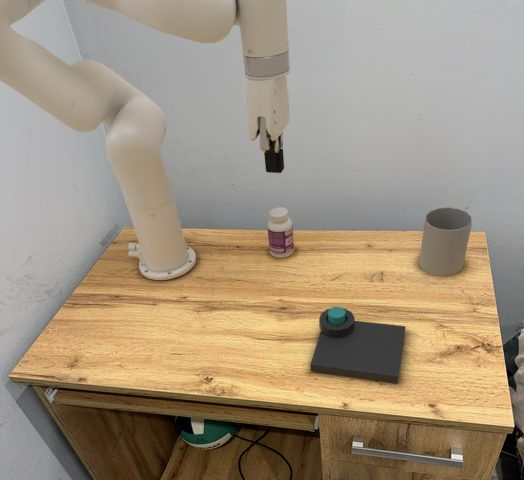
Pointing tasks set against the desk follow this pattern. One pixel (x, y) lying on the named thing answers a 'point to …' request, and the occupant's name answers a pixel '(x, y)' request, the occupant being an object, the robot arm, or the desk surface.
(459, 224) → the cup
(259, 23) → the robot arm
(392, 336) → the scale
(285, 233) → the pill bottle
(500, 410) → the desk surface
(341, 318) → the button
